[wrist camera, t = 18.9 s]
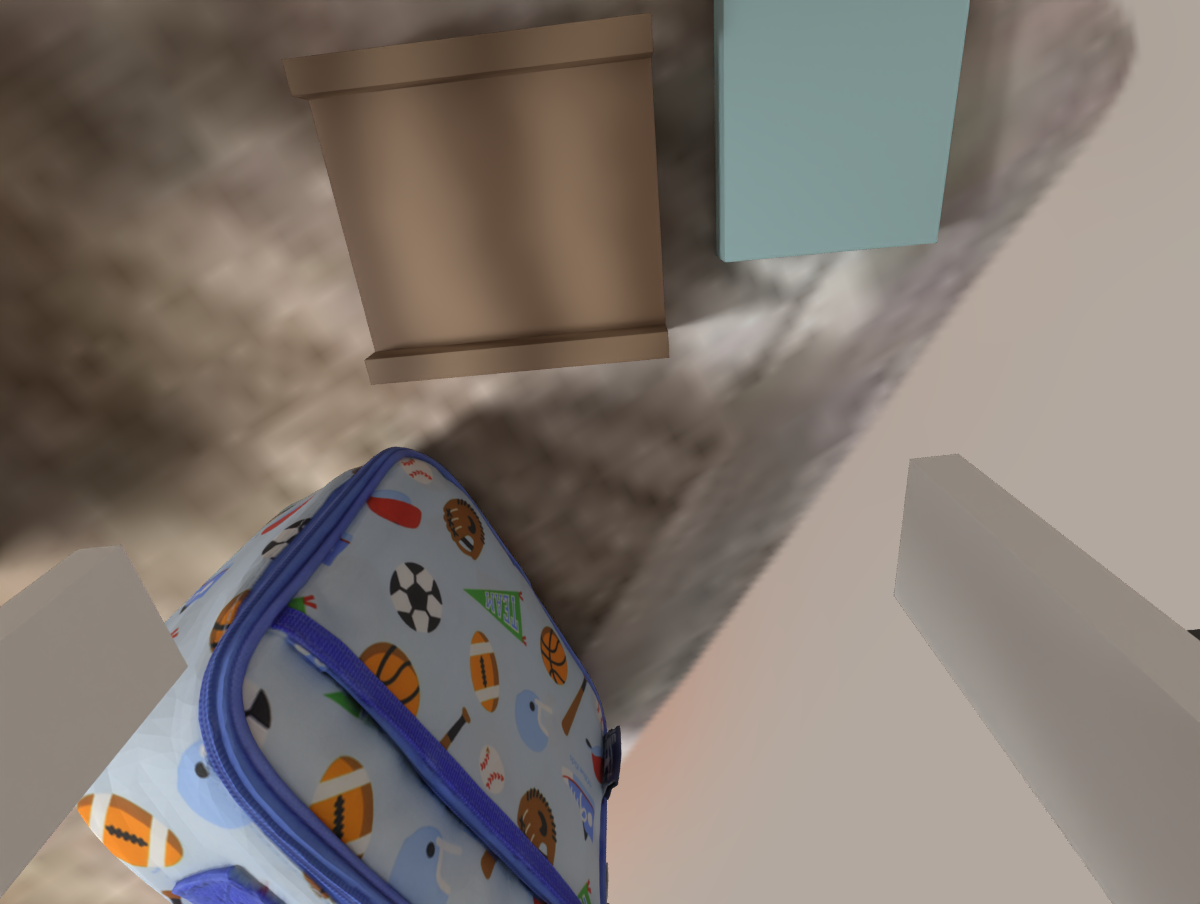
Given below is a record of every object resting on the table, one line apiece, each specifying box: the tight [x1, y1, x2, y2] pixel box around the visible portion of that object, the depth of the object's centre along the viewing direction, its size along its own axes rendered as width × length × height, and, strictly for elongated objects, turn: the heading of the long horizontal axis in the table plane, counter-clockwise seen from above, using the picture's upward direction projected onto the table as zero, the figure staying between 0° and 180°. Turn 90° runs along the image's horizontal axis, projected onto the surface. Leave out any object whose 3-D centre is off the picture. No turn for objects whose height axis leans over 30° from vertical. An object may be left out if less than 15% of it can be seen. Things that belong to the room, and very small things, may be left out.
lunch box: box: [75, 447, 621, 904], centre depth 30 cm, size 28×10×22 cm, turn 29°
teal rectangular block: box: [714, 0, 970, 262], centre depth 26 cm, size 14×10×3 cm
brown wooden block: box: [282, 13, 669, 385], centre depth 27 cm, size 14×13×5 cm
